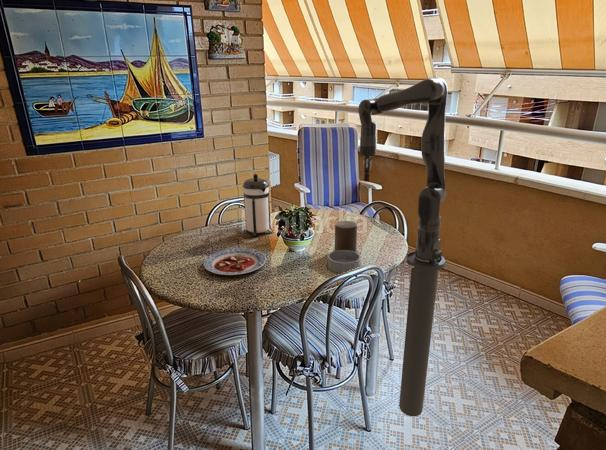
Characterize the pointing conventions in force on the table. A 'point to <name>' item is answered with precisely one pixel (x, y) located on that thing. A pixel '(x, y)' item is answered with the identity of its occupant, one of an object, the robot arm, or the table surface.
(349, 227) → the pillar candle
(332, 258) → the pan
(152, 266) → the table surface
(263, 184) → the coffee press
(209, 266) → the ceramic plate
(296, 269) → the table surface
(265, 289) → the table surface
